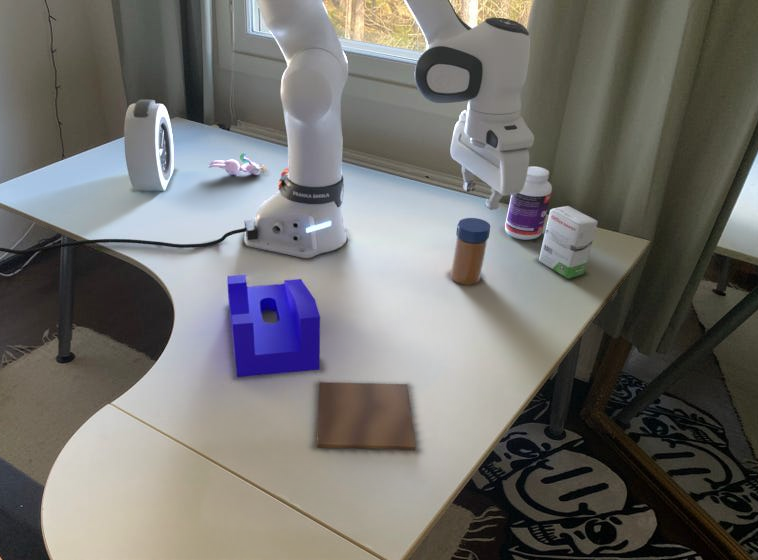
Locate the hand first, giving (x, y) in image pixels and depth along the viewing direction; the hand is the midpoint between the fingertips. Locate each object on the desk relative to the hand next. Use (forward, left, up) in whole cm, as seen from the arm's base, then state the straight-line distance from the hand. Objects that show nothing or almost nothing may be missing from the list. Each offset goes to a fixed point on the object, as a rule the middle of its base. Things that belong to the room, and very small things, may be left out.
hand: (479, 198), depth 123 cm
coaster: (-14, -45, -17) cm, 50 cm away
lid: (0, 0, -6) cm, 6 cm away
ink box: (+19, +8, -17) cm, 27 cm away
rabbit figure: (-60, +41, -17) cm, 75 cm away
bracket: (-33, -28, -17) cm, 47 cm away
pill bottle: (+12, +22, -17) cm, 30 cm away
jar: (0, 0, -17) cm, 17 cm away
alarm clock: (-80, +33, -17) cm, 88 cm away
